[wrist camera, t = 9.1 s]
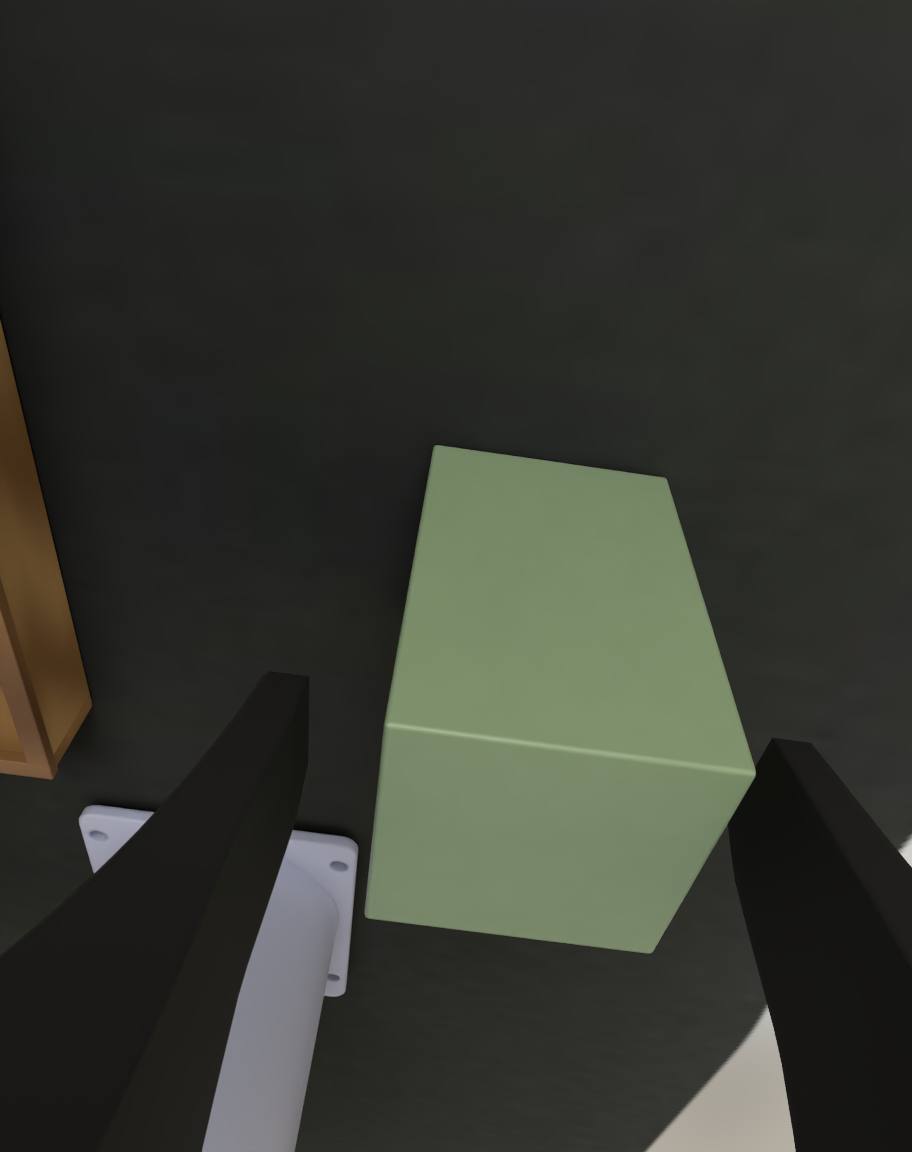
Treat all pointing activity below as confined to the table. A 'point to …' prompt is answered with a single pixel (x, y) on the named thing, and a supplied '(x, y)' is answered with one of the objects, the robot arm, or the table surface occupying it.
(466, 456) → the block
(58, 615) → the wooden frame
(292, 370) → the table surface
